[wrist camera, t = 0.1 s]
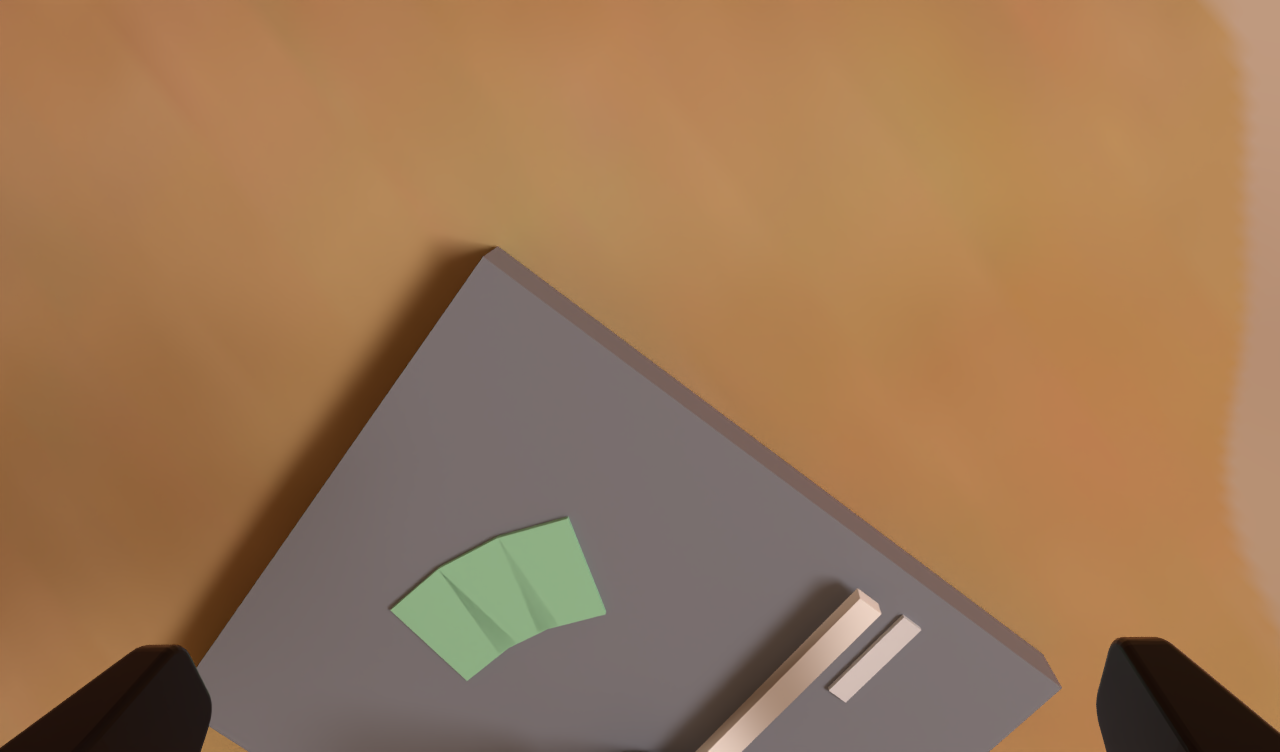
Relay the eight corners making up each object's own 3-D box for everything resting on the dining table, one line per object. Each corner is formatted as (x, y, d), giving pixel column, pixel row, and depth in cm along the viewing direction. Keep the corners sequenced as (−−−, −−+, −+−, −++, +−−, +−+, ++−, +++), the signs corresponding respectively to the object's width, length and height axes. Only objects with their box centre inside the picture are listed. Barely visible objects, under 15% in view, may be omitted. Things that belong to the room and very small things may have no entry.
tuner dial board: (677, 981, 30) (675, 1030, 29) (199, 671, 28) (169, 705, 27) (1043, 654, 25) (1063, 691, 24) (497, 246, 23) (481, 257, 22)
